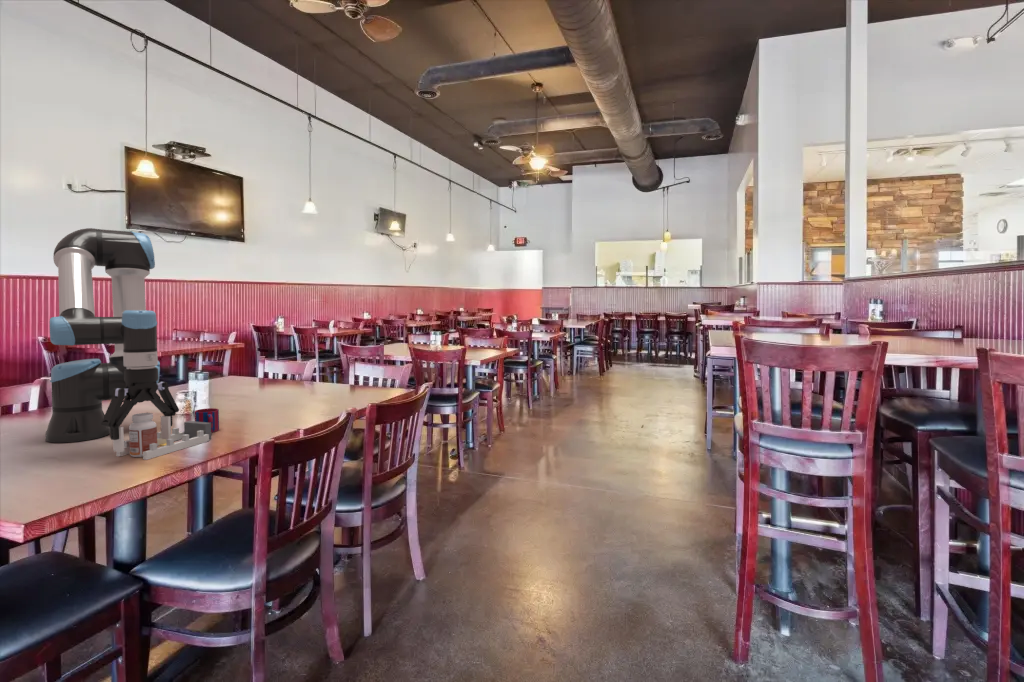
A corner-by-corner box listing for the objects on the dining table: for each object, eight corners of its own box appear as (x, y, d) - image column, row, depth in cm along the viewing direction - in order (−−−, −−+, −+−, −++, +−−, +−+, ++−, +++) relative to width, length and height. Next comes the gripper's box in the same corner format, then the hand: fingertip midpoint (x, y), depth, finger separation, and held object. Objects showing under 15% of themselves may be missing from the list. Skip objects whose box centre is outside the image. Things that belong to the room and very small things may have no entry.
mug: (218, 427, 172) (217, 407, 171) (220, 434, 164) (220, 413, 163) (194, 430, 168) (194, 409, 168) (196, 436, 160) (195, 415, 159)
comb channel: (116, 456, 139) (115, 437, 138) (187, 436, 160) (186, 420, 160) (146, 459, 136) (146, 441, 136) (214, 439, 157) (214, 423, 157)
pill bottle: (159, 450, 145) (158, 411, 144) (155, 456, 139) (154, 415, 139) (132, 452, 142) (131, 413, 141) (127, 458, 137) (125, 417, 136)
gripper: (104, 373, 126) (107, 458, 127) (191, 363, 150) (193, 435, 152) (81, 372, 128) (84, 456, 129) (171, 362, 152) (173, 433, 153)
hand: (143, 444), depth 140 cm, fingers open, 13 cm apart
